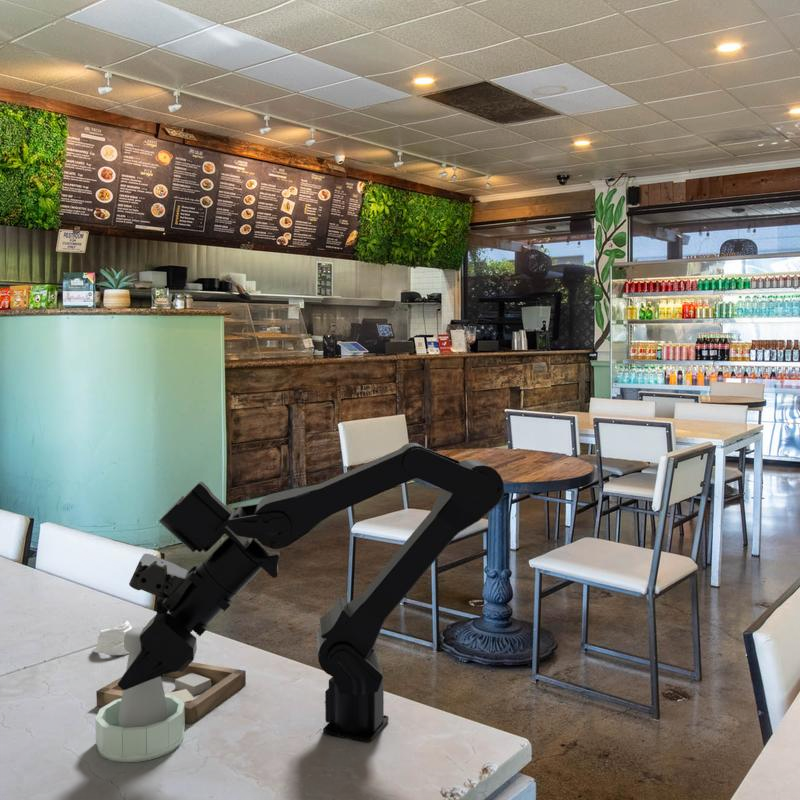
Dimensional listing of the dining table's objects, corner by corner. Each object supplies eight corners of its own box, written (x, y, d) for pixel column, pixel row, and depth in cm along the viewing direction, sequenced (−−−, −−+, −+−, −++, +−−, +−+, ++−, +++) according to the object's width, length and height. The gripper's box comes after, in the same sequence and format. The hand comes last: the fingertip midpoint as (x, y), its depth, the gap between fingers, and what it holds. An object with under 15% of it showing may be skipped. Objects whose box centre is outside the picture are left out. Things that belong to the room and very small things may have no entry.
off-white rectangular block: (211, 690, 113) (210, 679, 113) (194, 697, 111) (193, 686, 111) (192, 683, 115) (192, 672, 115) (175, 690, 113) (175, 679, 113)
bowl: (200, 730, 100) (199, 700, 100) (148, 768, 91) (148, 736, 91) (134, 717, 104) (134, 688, 104) (78, 753, 95) (78, 722, 94)
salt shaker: (167, 742, 95) (166, 635, 95) (116, 748, 94) (114, 639, 93) (169, 721, 101) (168, 619, 100) (121, 726, 100) (119, 623, 99)
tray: (245, 684, 114) (245, 670, 114) (191, 724, 102) (191, 708, 102) (158, 669, 119) (157, 656, 119) (96, 705, 107) (96, 691, 107)
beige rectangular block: (195, 711, 106) (195, 699, 106) (173, 716, 105) (172, 704, 105) (186, 700, 110) (186, 688, 110) (164, 705, 108) (164, 693, 108)
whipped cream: (109, 668, 123) (109, 638, 122) (81, 655, 126) (80, 626, 125) (151, 648, 129) (150, 620, 129) (123, 636, 133) (122, 609, 132)
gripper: (180, 517, 106) (95, 603, 105) (159, 551, 87) (55, 656, 86) (242, 573, 107) (158, 659, 106) (234, 619, 89) (133, 723, 88)
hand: (128, 671), depth 97 cm, fingers open, 9 cm apart
